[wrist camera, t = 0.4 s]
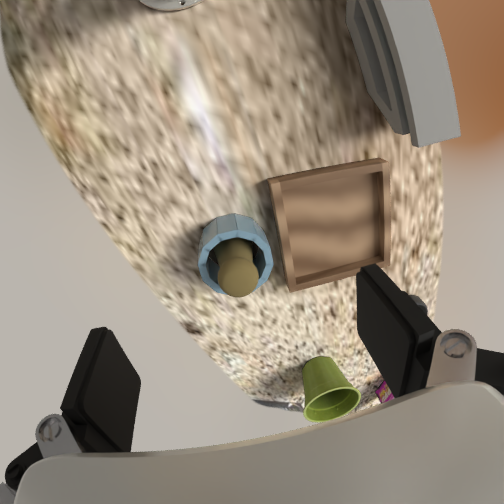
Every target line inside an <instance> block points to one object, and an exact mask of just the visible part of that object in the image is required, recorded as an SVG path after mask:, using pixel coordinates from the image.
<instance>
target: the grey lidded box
mask: <svg viewBox="0 0 504 504" xmlns="http://www.w3.org/2000/svg"><path fill="white" fill-rule="evenodd" d="M346 24H347V27H348V30H349V32H350V35H351V38H352V41H353V44H354V47H355V50H356V54H357V57H358V60H359V63H360V67H361V70H362V73H363V77H364V81H365V84H366V88H367V92H368V94H369V95H370V96H371V98H372V99H373V101H374V102H375V103H376V105H377V106H378V108H379V109H380V111H381V112H382V114H383V115H384V117H385V118H386V120H387V121H388V123H389V124H390V126H391V127H392V129H393V131H394V132H395V133H398V134H402V135H405V134H409V133H410V136H411V142H412V145H413V146H416V147H423V146H426V145H430V144H434V143H437V142H441V141H444V140H448V139H452V138H456V137H460V136H461V134H460V126H459V119H458V113H457V106H456V101H455V94H454V90H453V85H452V79H451V75H450V71H449V66H448V62H447V58H446V54H445V50H444V46H443V43H442V40H441V36H440V33H439V29H438V26H437V23H436V20H435V16H434V14H433V11H432V8H431V5H430V2H429V0H347V6H346Z"/></svg>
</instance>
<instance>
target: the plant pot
mask: <svg viewBox="0 0 504 504" xmlns="http://www.w3.org/2000/svg"><path fill="white" fill-rule="evenodd" d="M302 375H303V384H304V392H305V408H304V411H303V415H304V417H305V418H306V419H307V420H308V421H311V422H326V421H329V420H333V419H336V418H339V417H342V416H344V415H346V414H347V413H349V412H350V411H352V410H353V409H354V408H355V407H356V406H357V405H358V403H359V401H360V399H361V393H360V391H359V390H358V389H356V388H354V387H353V386H352V384H351V383H349V382H348V381H347V379H346V378H345V376H344V375H343V374H342V372H341V371H340V369H339V368H338V367H337V365H336V364H335V362H334V361H333V360H332V359H331V358H330V357H323V356H320V357H316V358H313V359H311V360H310V361H308V362H307V363H306V364H305V366H304V368H303V369H302Z"/></svg>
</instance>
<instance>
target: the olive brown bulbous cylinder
mask: <svg viewBox="0 0 504 504" xmlns="http://www.w3.org/2000/svg"><path fill="white" fill-rule="evenodd" d="M213 249H214V252H215V255H216V258H217V261H218V264H219V267H220V269H219V272H218V283H219V286H220V288H221V289H222V290H223V292H224V293H226V294H228V295H229V296H233V297H244V296H247V295H248V294H250V293H251V292H252V291H253V290H254V289H255V288H256V286H257V284H258V279H259V275H258V271H257V268H256V267H255V265H254V264H253V243H252V240H248V239H244V238H240V237H235V238H231V239H226V240H222V241H220V242H219V243H218V244H217V245H216V246H215V247H214V248H213Z"/></svg>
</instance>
